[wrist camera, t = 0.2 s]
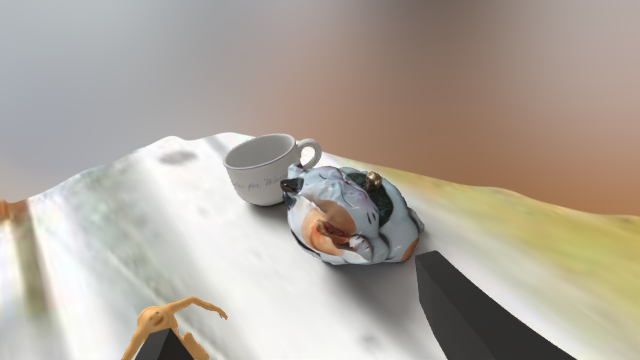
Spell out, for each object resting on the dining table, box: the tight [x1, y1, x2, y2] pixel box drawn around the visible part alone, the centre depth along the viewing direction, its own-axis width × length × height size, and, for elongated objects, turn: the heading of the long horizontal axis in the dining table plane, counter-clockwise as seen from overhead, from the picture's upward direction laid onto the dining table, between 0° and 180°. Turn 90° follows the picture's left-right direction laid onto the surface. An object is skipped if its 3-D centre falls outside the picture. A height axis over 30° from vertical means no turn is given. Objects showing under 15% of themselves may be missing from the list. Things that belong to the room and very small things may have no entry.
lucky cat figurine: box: [280, 163, 424, 265], centre depth 40 cm, size 15×12×14 cm
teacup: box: [223, 134, 322, 206], centre depth 54 cm, size 14×11×8 cm
